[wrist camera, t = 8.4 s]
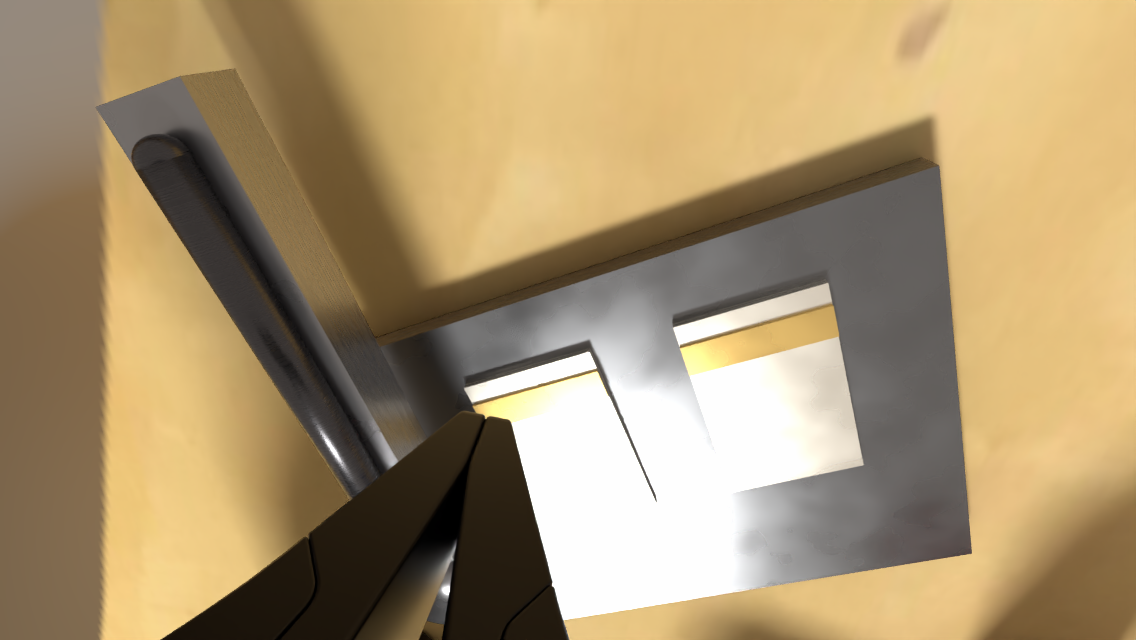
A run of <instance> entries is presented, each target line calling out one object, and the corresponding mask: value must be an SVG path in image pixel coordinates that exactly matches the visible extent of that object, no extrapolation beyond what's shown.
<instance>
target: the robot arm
mask: <svg viewBox="0 0 1136 640" xmlns="http://www.w3.org/2000/svg"><path fill="white" fill-rule="evenodd" d="M454 551H455V555H454V561H453V568H452V575H451V582H450V589H449V595H448V602H447V609H446V616H445V623H444V630H443V636H442V640H569V637H568V634H567V630H566V627H565V624H564V620H563V617H562V613H561V610H560V606H559V602H558V598H557V595H556V591H555V588H554V586H552V585H553V580H552V576H551V572H550V569H549V565H548V561H547V557H546V553H545V549H544V545H543V541H542V538H541V534H540V530H539V526H538V522H537V518H536V514H535V510H534V507H533V503H532V499H531V495H530V491H529V487H528V483H527V479H526V476H525V472H524V468H523V464H522V460H521V456H520V452H519V449H518V445H517V441H516V437H515V433H514V429H513V425H512V423H511V421H510V420H508V419H504V418H499V417H494V416H489V417H487V418H485V416H484V415H483V414H479V413H474V412H469V411H461V412H459V413H458V414H457V415H456V416H454V417H453V418H452V419H451V420H449V421H448V422H447V423H446V424H444V425H443V426H442V427H441V428H439V429H438V430H437V431H436V432H435V433H433V434H432V435H431V436H430V437H428V438H427V439H426V440H425V441H423V442H422V443H421V444H420V445H418V446H417V447H416V448H415V449H413V450H412V451H411V452H410V453H408V454H407V455H406V456H405V457H403V458H402V459H401V460H400V461H398V462H397V463H396V464H395V465H393V466H392V467H391V468H390V469H388V470H387V471H386V472H385V473H383V474H382V475H381V476H380V477H378V478H377V479H376V480H375V481H374V482H372V483H371V484H370V485H369V486H367V487H366V488H365V489H364V490H362V491H361V492H360V493H359V494H357V495H356V496H355V497H354V498H352V499H351V500H350V501H349V502H347V503H346V504H345V505H344V506H342V507H341V508H340V509H339V510H337V511H336V512H335V513H334V514H332V515H331V516H330V517H329V518H327V519H326V520H325V521H324V522H322V523H321V524H320V525H319V526H318V527H316V528H315V529H314V530H313V531H311V532H310V533H309V534H308V538H307V537H303V538H302V539H301V540H300V541H298V542H297V543H296V544H295V545H293V546H292V547H291V548H290V549H289V550H287V551H286V552H285V553H284V554H282V555H281V556H280V557H278V558H277V559H276V560H274V561H273V562H272V563H270V564H269V565H268V566H267V567H265V568H264V569H263V570H261V571H260V572H259V573H257V574H256V575H255V576H253V577H252V578H251V579H249V580H248V581H247V582H245V583H244V584H242V585H241V586H240V587H238V588H237V589H235V590H234V591H232V592H231V593H229V594H228V595H227V596H225V597H224V598H222V599H221V600H219V601H218V602H216V603H215V604H213V605H212V606H211V607H209V608H208V609H206V610H205V611H203V612H202V613H200V614H199V615H197V616H196V617H194V618H193V619H191V620H190V621H188V622H187V623H185V624H184V625H182V626H181V627H179V628H178V629H176V630H175V631H173V632H172V633H170V634H169V635H167V636H166V637H164V638H163V639H161V640H431V638H430V637H429V636H428V635H426V634H423V633H422V630H423V628H424V625H425V623H426V621H427V618H428V616H429V613H430V611H431V608H432V606H433V603H434V601H435V598H436V596H437V593H438V591H439V588H440V586H441V584H442V581H443V579H444V576H445V574H446V571H447V569H448V566H449V564H450V561H451V559H452V556H453V553H454Z"/></svg>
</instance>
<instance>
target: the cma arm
mask: <svg viewBox="0 0 1136 640" xmlns="http://www.w3.org/2000/svg"><path fill="white" fill-rule="evenodd" d="M96 109H97V110H98V112H99V113H100V115H101V117H102V118H103V120H104V121H105V123H106V124H107V126H108V127H109V129H110V130H111V132H112V134H113V135H114V137H115V138H116V140H117V141H118V143H119V144H120V146H121V147H122V149H123V151H124V152H125V154H126V155H127V157H128V158H129V160H130V161H131V163H132V164H133V166H134V168H135V170H136V172H137V173H138V175H139V176H140V178H141V179H142V181H143V183H144V184H145V186H146V187H147V189H148V190H149V192H150V193H151V195H152V196H153V198H154V200H155V201H156V203H157V204H158V206H159V207H160V209H161V210H162V212H163V213H164V215H165V217H166V218H167V220H168V221H169V223H170V224H171V226H172V227H173V229H174V230H175V232H176V234H177V235H178V237H179V238H180V240H181V241H182V243H183V244H184V246H185V247H186V249H187V250H188V252H189V254H190V255H191V257H192V258H193V260H194V261H195V263H196V264H197V266H198V267H199V269H200V271H201V272H202V274H203V275H204V277H205V278H206V280H207V281H208V283H209V284H210V286H211V288H212V289H213V291H214V292H215V294H216V295H217V297H218V298H219V300H220V301H221V303H222V305H223V306H224V308H225V309H226V311H227V312H228V314H229V315H230V317H231V318H232V320H233V322H234V323H235V325H236V326H237V328H238V329H239V331H240V332H241V334H242V335H243V337H244V338H245V340H246V342H247V343H248V345H249V346H250V348H251V349H252V351H253V352H254V354H255V355H256V357H257V359H258V360H259V362H260V363H261V365H262V366H263V368H264V369H265V371H266V372H267V374H268V376H269V377H270V379H271V380H272V382H273V383H274V385H275V386H276V388H277V389H278V391H279V393H280V394H281V396H282V397H283V399H284V400H285V402H286V403H287V405H288V406H289V408H290V409H291V411H292V413H293V414H294V416H295V417H296V419H297V420H298V422H299V423H300V425H301V426H302V428H303V430H304V431H305V433H306V434H307V436H308V437H309V439H310V440H311V442H312V443H313V445H314V447H315V448H316V450H317V451H318V453H319V454H320V456H321V457H322V459H323V460H324V462H325V464H326V465H327V467H328V468H329V470H330V471H331V473H332V474H333V476H334V477H335V479H336V480H337V482H338V484H339V485H340V487H341V488H342V490H343V491H344V493H345V494H346V496H347V497H348V499H349V501H350V500H351V499H352V498H354V497H355V496H356V495H357V494H359V493H360V492H361V491H362V490H364V489H365V488H366V487H367V486H369V485H370V484H371V483H372V482H374V481H375V480H376V479H377V478H378V477H380V476H381V475H382V474H383V473H385V472H386V471H387V470H388V469H390V468H391V467H392V466H393V465H395V464H396V463H397V462H398V461H400V460H401V459H402V458H403V457H405V456H406V455H407V454H408V453H410V452H411V451H412V450H413V449H415V448H416V447H417V446H418V445H420V444H421V443H422V442H423V441H425V440H426V439H427V437H426V435H425V433H424V431H423V429H422V427H421V425H420V423H419V421H418V419H417V418H416V416H415V414H414V412H413V410H412V408H411V406H410V404H409V402H408V400H407V398H406V396H405V395H404V393H403V391H402V389H401V387H400V385H399V383H398V381H397V379H396V377H395V375H394V373H393V371H392V370H391V368H390V366H389V364H388V362H387V360H386V358H385V356H384V354H383V352H382V350H381V348H380V346H379V345H378V343H377V341H376V339H375V337H374V335H373V333H372V331H371V329H370V327H369V325H368V323H367V321H366V320H365V318H364V316H363V314H362V312H361V310H360V308H359V306H358V304H357V302H356V300H355V298H354V296H353V295H352V293H351V291H350V289H349V287H348V285H347V283H346V281H345V279H344V277H343V275H342V273H341V271H340V270H339V268H338V266H337V264H336V262H335V260H334V258H333V256H332V254H331V252H330V250H329V248H328V246H327V245H326V243H325V241H324V239H323V237H322V235H321V233H320V231H319V229H318V227H317V225H316V223H315V222H314V220H313V218H312V216H311V214H310V212H309V210H308V208H307V206H306V204H305V202H304V200H303V198H302V197H301V195H300V193H299V191H298V189H297V187H296V185H295V183H294V181H293V179H292V177H291V175H290V173H289V172H288V170H287V168H286V166H285V164H284V162H283V160H282V158H281V156H280V154H279V152H278V150H277V148H276V147H275V145H274V143H273V141H272V139H271V137H270V135H269V133H268V131H267V129H266V127H265V125H264V123H263V122H262V120H261V118H260V116H259V114H258V112H257V110H256V108H255V106H254V104H253V102H252V100H251V98H250V97H249V95H248V93H247V91H246V89H245V87H244V85H243V83H242V81H241V79H240V77H239V75H238V73H237V72H236V70H235V69H229V70H222V71H215V72H207V73H200V74H193V75H185V76H179V77H176V78H174V79H171V80H168V81H165V82H163V83H160V84H157V85H154V86H152V87H149V88H146V89H144V90H141V91H138V92H135V93H133V94H130V95H127V96H124V97H122V98H119V99H116V100H113V101H111V102H108V103H105V104H102V105H100V106H97V107H96ZM454 555H455V551H454V553H453V556H452V559H451V561H450V564H449V566H448V569H447V571H446V574H445V576H444V579H443V581H442V584H441V586H440V588H439V591H438V593H437V596H436V598H435V601H434V603H433V606H432V608H431V611H430V613H429V616H428V618H427V621H430V622H433V623H438V624H444V623H445V616H446V609H447V602H448V595H449V589H450V582H451V575H452V568H453V561H454Z"/></svg>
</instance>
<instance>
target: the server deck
mask: <svg viewBox="0 0 1136 640" xmlns="http://www.w3.org/2000/svg"><path fill="white" fill-rule="evenodd" d="M375 339H376V341H377V343H378V345H379V346H380V348H381V350H382V352H383V354H384V356H385V358H386V360H387V362H388V364H389V366H390V368H391V370H392V371H393V373H394V375H395V377H396V379H397V381H398V383H399V385H400V387H401V389H402V391H403V393H404V395H405V396H406V398H407V400H408V402H409V404H410V406H411V408H412V410H413V412H414V414H415V416H416V418H417V419H418V421H419V423H420V425H421V427H422V429H423V431H424V433H425V435H426V437H427V438H428V437H430V436H431V435H432V434H433V433H435V432H436V431H437V430H438V429H439V428H441V427H442V426H443V425H444V424H446V423H447V422H448V421H449V420H451V419H452V418H453V417H454V416H456V415H457V414H458V413H459V412H461V411H469V412H474V413H479V414H483V415H484V416H485V418H487V417H489V416H494V417H499V418H504V419H508V420H510V421H511V423H512V425H513V429H514V433H515V437H516V441H517V445H518V449H519V452H520V456H521V460H522V464H523V468H524V472H525V476H526V479H527V483H528V487H529V491H530V495H531V499H532V503H533V507H534V510H535V514H536V518H537V522H538V526H539V530H540V534H541V538H542V541H543V545H544V549H545V553H546V557H547V561H548V565H549V569H550V572H551V576H552V580H553V585H552V586H554V588H555V591H556V595H557V598H558V602H559V606H560V610H561V613H562V617H563V620H566V619H572V618H578V617H585V616H591V615H597V614H603V613H609V612H615V611H621V610H628V609H634V608H640V607H646V606H652V605H658V604H665V603H671V602H677V601H683V600H689V599H695V598H701V597H708V596H714V595H720V594H726V593H732V592H738V591H744V590H751V589H757V588H763V587H769V586H775V585H781V584H787V583H794V582H800V581H806V580H812V579H818V578H824V577H830V576H837V575H843V574H849V573H855V572H861V571H867V570H874V569H880V568H886V567H892V566H898V565H904V564H910V563H917V562H923V561H929V560H935V559H941V558H947V557H953V556H960V555H966V554H972V550H971V538H970V526H969V514H968V502H967V490H966V478H965V466H964V454H963V443H962V431H961V419H960V407H959V395H958V383H957V371H956V359H955V347H954V335H953V324H952V312H951V300H950V288H949V276H948V264H947V252H946V240H945V228H944V216H943V205H942V193H941V181H940V169H939V165H937V164H935V163H933V162H931V161H929V160H927V159H924V158H919V159H916V160H913V161H910V162H907V163H904V164H901V165H898V166H895V167H892V168H889V169H886V170H883V171H880V172H877V173H874V174H871V175H868V176H864V177H861V178H858V179H855V180H852V181H849V182H846V183H843V184H840V185H837V186H834V187H831V188H828V189H825V190H822V191H819V192H816V193H813V194H810V195H807V196H804V197H801V198H798V199H795V200H792V201H789V202H786V203H783V204H780V205H777V206H774V207H771V208H768V209H764V210H761V211H758V212H755V213H752V214H749V215H746V216H743V217H740V218H737V219H734V220H731V221H728V222H725V223H722V224H719V225H716V226H713V227H710V228H707V229H704V230H701V231H698V232H695V233H692V234H689V235H686V236H683V237H680V238H677V239H674V240H671V241H668V242H664V243H661V244H658V245H655V246H652V247H649V248H646V249H643V250H640V251H637V252H634V253H631V254H628V255H625V256H622V257H619V258H616V259H613V260H610V261H607V262H604V263H601V264H598V265H595V266H592V267H589V268H586V269H583V270H580V271H577V272H574V273H571V274H568V275H564V276H561V277H558V278H555V279H552V280H549V281H546V282H543V283H540V284H537V285H534V286H531V287H528V288H525V289H522V290H519V291H516V292H513V293H510V294H507V295H504V296H501V297H498V298H495V299H492V300H489V301H486V302H483V303H480V304H477V305H474V306H471V307H468V308H465V309H461V310H458V311H455V312H452V313H449V314H446V315H443V316H440V317H437V318H434V319H431V320H428V321H425V322H422V323H419V324H416V325H413V326H410V327H407V328H404V329H401V330H398V331H395V332H392V333H389V334H386V335H383V336H380V337H377V338H375Z"/></svg>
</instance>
